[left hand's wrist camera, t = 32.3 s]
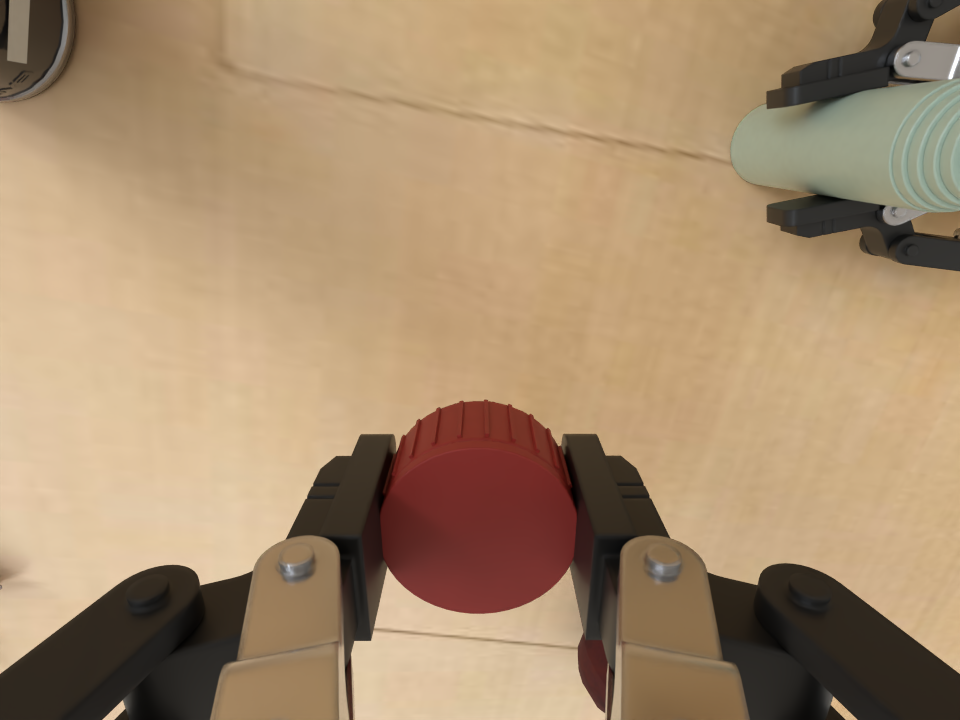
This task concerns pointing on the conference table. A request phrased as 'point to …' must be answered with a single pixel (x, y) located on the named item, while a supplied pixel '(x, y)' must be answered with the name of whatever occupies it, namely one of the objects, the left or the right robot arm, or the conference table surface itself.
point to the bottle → (860, 146)
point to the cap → (478, 509)
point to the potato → (593, 669)
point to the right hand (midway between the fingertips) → (777, 160)
